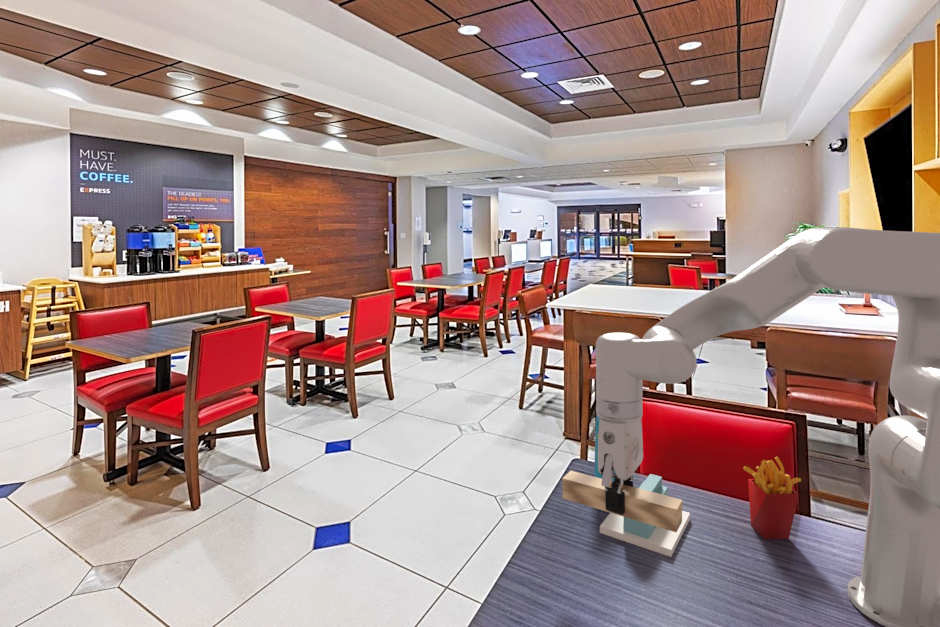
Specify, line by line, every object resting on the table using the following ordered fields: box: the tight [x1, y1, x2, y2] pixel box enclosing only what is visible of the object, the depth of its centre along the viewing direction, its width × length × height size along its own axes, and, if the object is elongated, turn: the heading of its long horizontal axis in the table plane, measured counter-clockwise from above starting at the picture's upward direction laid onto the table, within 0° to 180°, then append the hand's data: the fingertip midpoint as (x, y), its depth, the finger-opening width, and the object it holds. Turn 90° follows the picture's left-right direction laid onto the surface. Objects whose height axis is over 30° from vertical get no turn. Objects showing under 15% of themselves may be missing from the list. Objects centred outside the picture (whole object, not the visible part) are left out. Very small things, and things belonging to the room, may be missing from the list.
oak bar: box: [562, 470, 683, 532], centre depth 88 cm, size 20×4×4 cm, turn 54°
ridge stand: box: [599, 473, 691, 558], centre depth 104 cm, size 14×15×8 cm
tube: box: [593, 415, 616, 481], centre depth 120 cm, size 7×5×19 cm, turn 134°
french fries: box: [743, 456, 802, 540], centre depth 102 cm, size 9×8×15 cm
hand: (619, 505), depth 88 cm, fingers closed on oak bar, 3 cm apart
